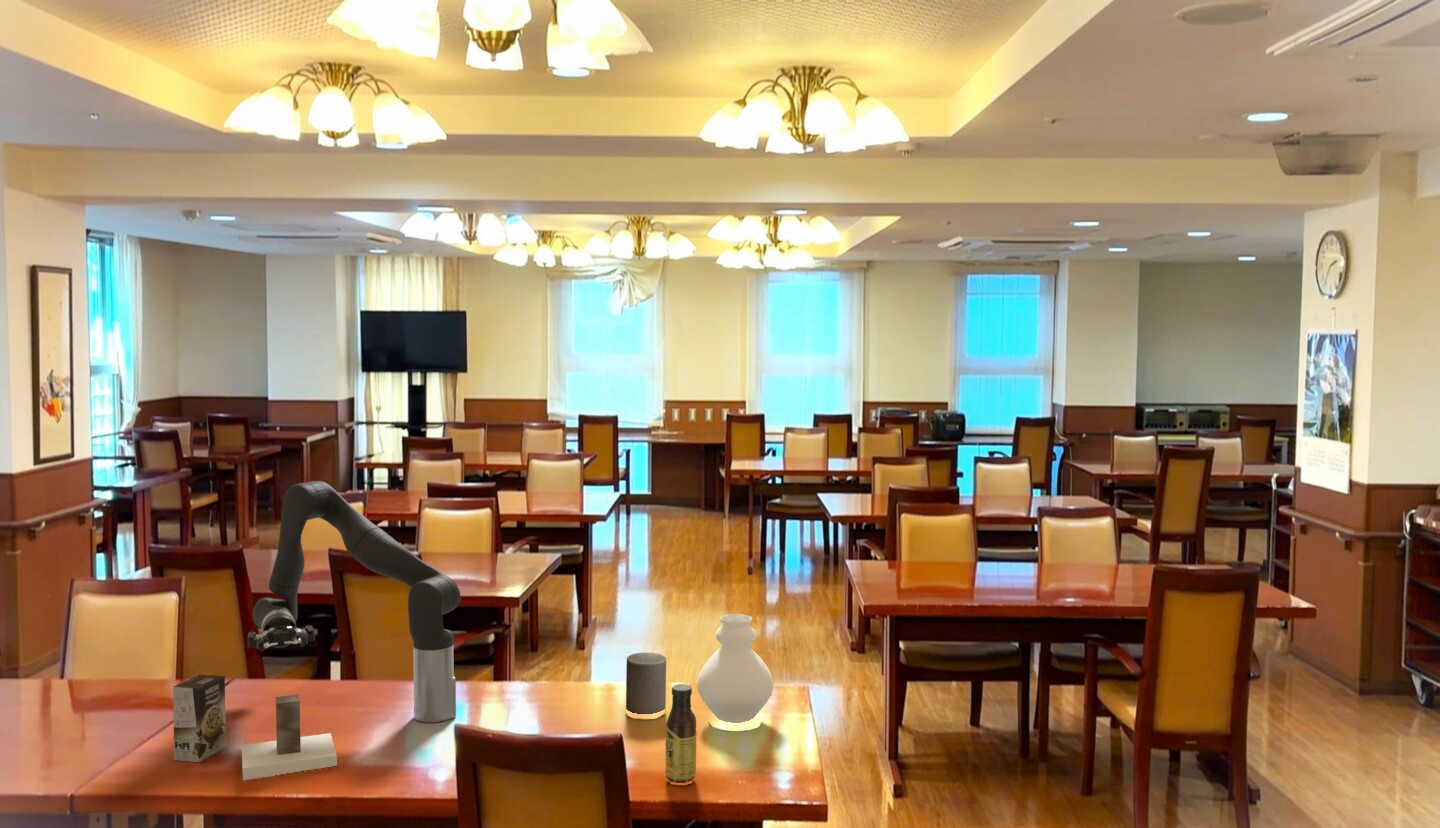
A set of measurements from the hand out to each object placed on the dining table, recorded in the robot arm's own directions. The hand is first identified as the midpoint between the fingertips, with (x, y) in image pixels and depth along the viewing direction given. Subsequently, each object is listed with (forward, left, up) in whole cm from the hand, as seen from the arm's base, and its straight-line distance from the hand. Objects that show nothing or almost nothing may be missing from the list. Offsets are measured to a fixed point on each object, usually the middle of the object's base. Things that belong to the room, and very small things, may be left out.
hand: (282, 644), depth 245 cm
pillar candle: (-80, +20, -21) cm, 85 cm away
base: (0, +18, -21) cm, 27 cm away
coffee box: (+17, +6, -21) cm, 28 cm away
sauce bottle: (-72, +61, -21) cm, 97 cm away
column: (0, +18, -18) cm, 25 cm away
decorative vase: (-97, +34, -21) cm, 105 cm away
